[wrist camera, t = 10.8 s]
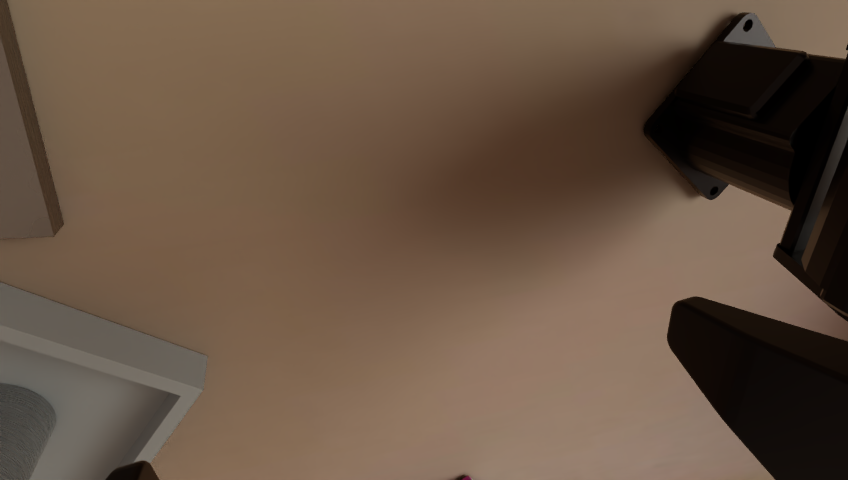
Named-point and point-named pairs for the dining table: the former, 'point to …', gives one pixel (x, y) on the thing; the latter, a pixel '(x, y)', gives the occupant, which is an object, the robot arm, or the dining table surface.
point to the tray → (95, 384)
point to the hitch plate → (22, 150)
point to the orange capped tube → (23, 431)
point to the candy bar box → (467, 478)
